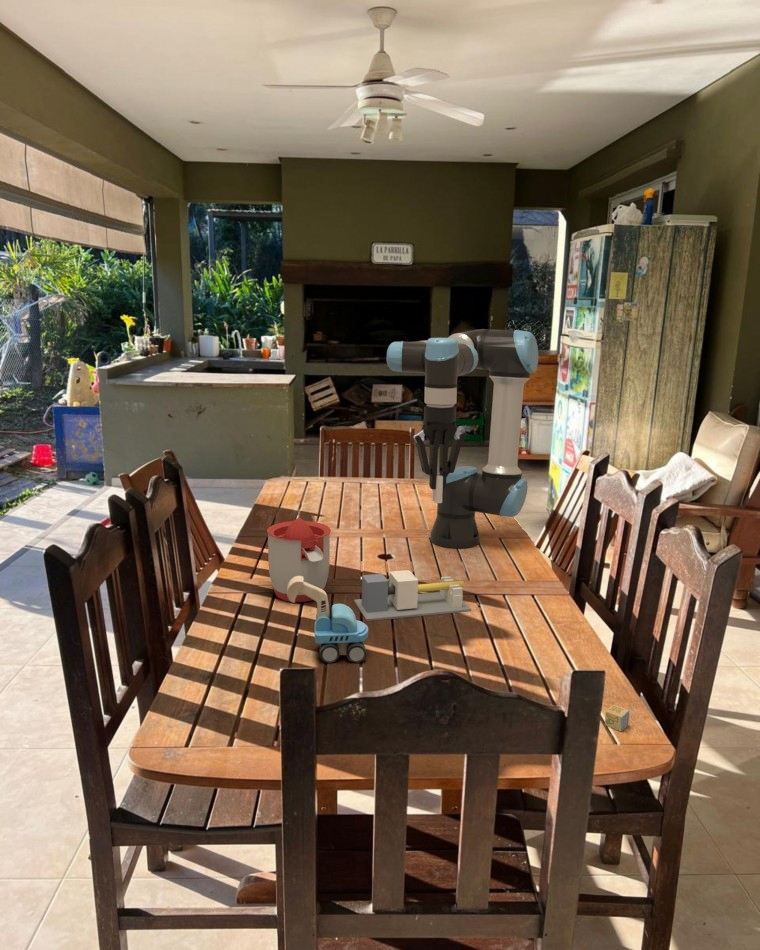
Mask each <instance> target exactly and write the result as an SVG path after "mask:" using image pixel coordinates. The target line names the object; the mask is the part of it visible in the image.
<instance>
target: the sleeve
mask: <svg viewBox="0 0 760 950" xmlns="http://www.w3.org/2000/svg"><path fill="white" fill-rule="evenodd" d="M418 585H419V579H418V578H417V577H416V575H414V574H413V573H412V572H411V571H410V570H409V569H407V570H406V569H405V570H394V571H389V580H388V587H393V586H395V594H393V595H388V597H389V600H390V601H391V602H392V604H393V605H394V606H395V608H396V609H397V610H400V609H411V608H417V601H418V594H419V592H418Z"/></svg>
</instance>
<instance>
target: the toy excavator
mask: <svg viewBox="0 0 760 950" xmlns="http://www.w3.org/2000/svg"><path fill="white" fill-rule="evenodd" d="M299 592H301V593H302V594H304V595H306V596H308V597H310V598H311V599H313V600H312V601H315V602H316V613H315V614H316V615H315V622H314V643H316V644H319V650H318V652H319V657H320V659H321V661H322V662H324V663H325V664H326V663H327V664H332V663H334V662H337V660H338V659H339V657H340V656H346V658H347V659H348V661H349V662H352V663H354V664H359V663H362V662H363V661H365V658H366V656H367V648H366V645H365V641H366V639H368V637H369V627H368V625H367V624H366V623H364V622H363V621H361V620H357V617H356V614H355V612H354V611H353V609H352V608H350V606H348V605H347V604H344V603H334V604H333V605H332V606H331V613H330V608H329V607H330V605H329V599H328V594H327V592H326V591H325V589H324V590H322V589H320V588H318V587H316V586H313V585H311V584H309V583H306V582H304V577H303V576H295V577H293V578H292V579H291V580H290V581H289V583H288V586H287V597H288V599H289V600H290V601H291V602H290V603H292V602H293V604H294V603H296V602H295V599H296V597H297V595H298V593H299Z"/></svg>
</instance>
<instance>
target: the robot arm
mask: <svg viewBox="0 0 760 950" xmlns="http://www.w3.org/2000/svg"><path fill="white" fill-rule="evenodd" d="M386 363H387V368H389V370H391V371H393V372H400V373H414V374H415V373H417V374H424V377H425V378H424V403H425V406H424V407H423V424H422V427H421V430H420V431H419V432H418V433H413V435H412V439H413V440H414V442H415V444H416V448H417V452H418V453H417V454H418V458H419V463H420V466H421V467H420V468H421V472H422V473H424V474H426V475H429V482H428V483H429V486H428V487H429V488H430V489H431V490H432V496H431V497H432V499H431V501H433V502H434V503H435V504H437V505H436V506H437V507H436V517H435V520H434V523H433V526H432V529H431V531H430V537H429V538H430V539H429V540H430V542H431V543H432V544H434V545H437V546H439V547H442V548H443V547H444V548H448V549H449V548H450V549H467V548H473V547H477V545H479V544H480V537H481V536H480V532H479V528H478V525H477V521H476V513H483V514H488V515H495V516H499V517H508V518H509V517H510V518H512V517H513V518H514V517H516V516H517V515H519V514H520V512H521V511H522V509H523V507H524V504H525V501H526V499H527V495H528V487H529V486H528V481H527V480H526V479H525V478H524V477H523V478H522V475H523V472H522V470H521V468H519V466H518V460H519V449H520V447H519V446H520V436H521V435H520V434H521V426H522V410H523V400H524V390H525V389H524V387H525V386H524V385H525V384H526V383H527V382H528V381H529V380H530V379H531V374H533V373H535V372H536V371H537V369H538V365H539V347H538V342H537V339H536V337H535V335H534V334H533V333H532V332H530V331H526V330H519V329H516V330H515V329H487V328H486V329H485V328H481V329H473V330H467V331H462V332H457V333H452V334H451V335H449V336H448V337H430V338H428V339H427V340H426V339H425V340H419V341H403V340H401V341H393V342H391V343H390V344H389V345H388V348H387V349H386ZM475 369H477V370H485V371H487V370H488V371H489V373H488V374H489V375H488V377H489V378H490V379H491V381H492V382H493V392H492V406H491V417H490V418H491V420H490V433H489V443H488V444H489V446H488V460H487V464H486V465H485V466H483V467H482V471H481V472H482V473H479V471H478V468H477V467H476V466H471V465H470V466H469V465H462V466H457V462H458V459H459V454H460V451H461V447H462V445H463V444H462V443H463V442H464V440H466V438H467V435H466V434H465V433H464V432H461V431H459V430H458V427H457V425H456V424H457V423H456V421H457V407H456V404H457V402H458V401H457V399H458V395H457V393H458V392H457V391H458V377H460V376H465V375H468V374H469V373H471V372H473V371H474V370H475ZM425 439H427V441H428V446H429V456H428V455H427V451H426V445H425V443H424V441H425ZM452 439H453V441H452V445H451V447H450V442H451V440H452ZM449 448H450V452H449ZM428 457H429V459H428ZM438 459H439V461H438ZM438 465H439V466H438Z"/></svg>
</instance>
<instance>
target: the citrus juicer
mask: <svg viewBox="0 0 760 950" xmlns="http://www.w3.org/2000/svg"><path fill="white" fill-rule="evenodd" d="M266 533H267V542H268V543H267V545H268V546H267V549H268V551H267V552H268V553H267V554H268V555H267V557H268V572H269V578H270V581H271V584H272V588H273V591H274V594H275V595H276V597H277V598H279V599H280V600H282V601H286V602H290V603H293V602H291V601H290V600H289V599H288V597H287V586H288V583H289V581H290V580H291V579H292V578H293V577H295V576H303V577H304V582H306V583H309V584H311V585H313V586H316V587H318V588H320V589H322V590H324V591H325V588H326V584H327V581H328V578H329V573H330V543H331V541H330V538H331V537H330V534H331V533H332V530H331V527H330V526H328V525H327V524H324V523H321V522H315V521H310V520H309V521H308V520H304V519H302V518H301V517H297V518H296V519H295V520H292V521H291V520H290V521H283V522H279V523H276V524H273V525H271V526H269V527H268V528H267V530H266ZM309 601H310V602H311V601H314V600H313V599H311V598H310V597H308V596H306V595H304V594H302V593H301V592H299V593H298V595H297V597H296V599H295V603H302V602H309ZM293 604H294V603H293Z"/></svg>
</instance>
